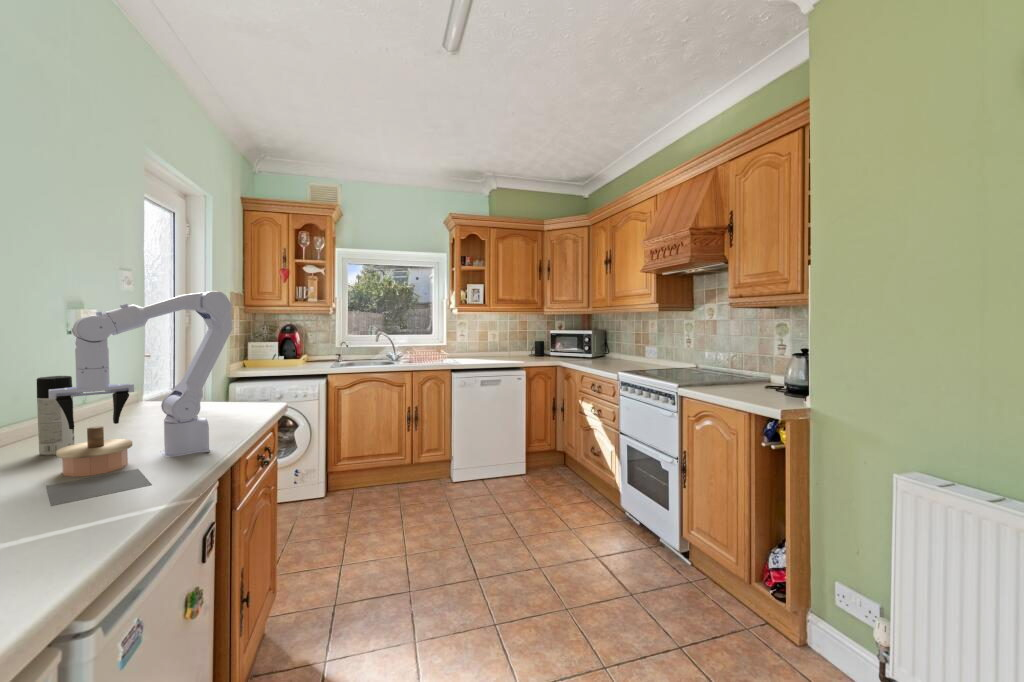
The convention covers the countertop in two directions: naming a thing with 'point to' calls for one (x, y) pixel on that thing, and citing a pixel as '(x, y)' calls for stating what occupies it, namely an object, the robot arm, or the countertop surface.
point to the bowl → (94, 464)
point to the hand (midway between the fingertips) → (94, 425)
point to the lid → (94, 445)
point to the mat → (95, 486)
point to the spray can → (52, 416)
